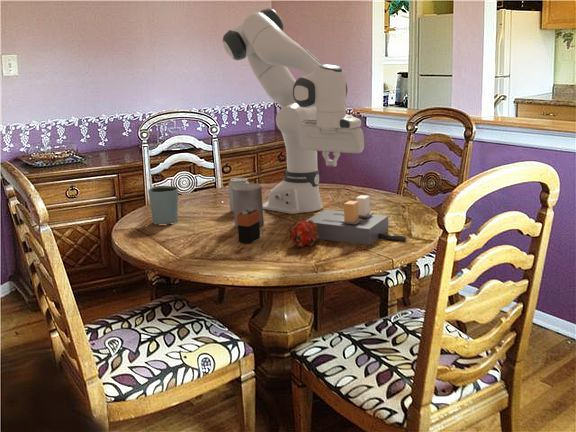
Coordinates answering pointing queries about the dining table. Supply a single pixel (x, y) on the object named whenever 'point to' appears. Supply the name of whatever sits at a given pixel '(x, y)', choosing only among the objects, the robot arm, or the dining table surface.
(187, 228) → the dining table surface
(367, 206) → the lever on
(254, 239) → the battery
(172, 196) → the grey bin
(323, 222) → the breaker strip
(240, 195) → the pillar candle
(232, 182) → the can
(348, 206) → the orange block
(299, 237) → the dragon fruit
